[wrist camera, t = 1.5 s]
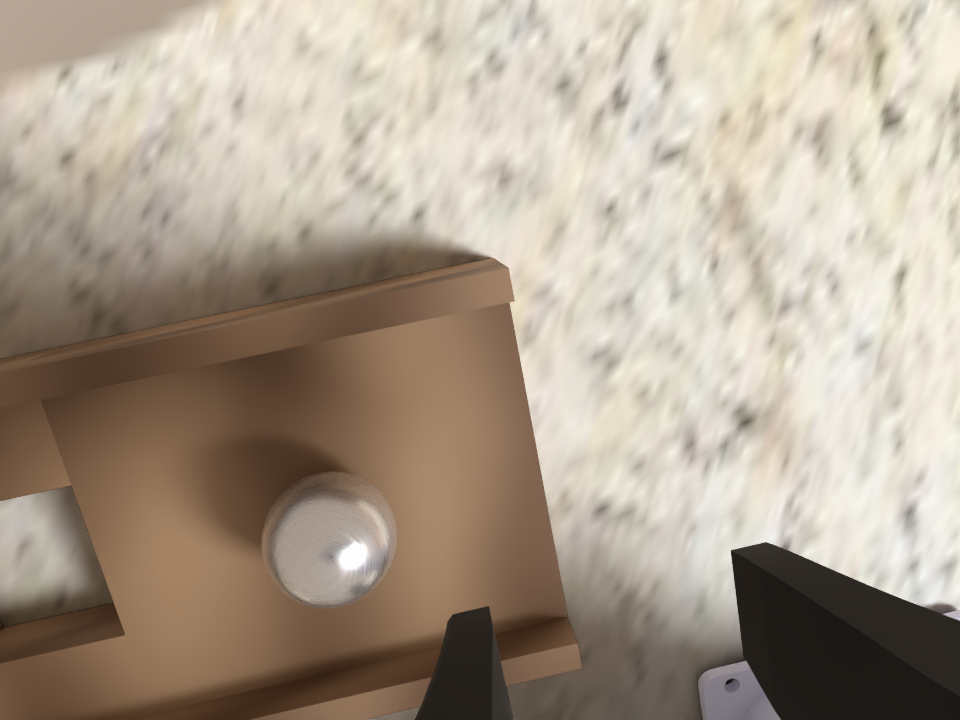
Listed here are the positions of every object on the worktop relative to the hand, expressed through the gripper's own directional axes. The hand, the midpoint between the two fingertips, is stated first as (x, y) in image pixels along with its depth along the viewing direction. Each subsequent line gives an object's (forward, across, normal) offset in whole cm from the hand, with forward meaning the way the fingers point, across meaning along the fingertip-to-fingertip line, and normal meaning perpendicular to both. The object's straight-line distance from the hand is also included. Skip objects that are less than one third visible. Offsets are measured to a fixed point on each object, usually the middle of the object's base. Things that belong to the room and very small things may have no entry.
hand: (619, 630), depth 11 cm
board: (+9, +9, 0) cm, 13 cm away
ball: (+6, +6, 0) cm, 8 cm away
